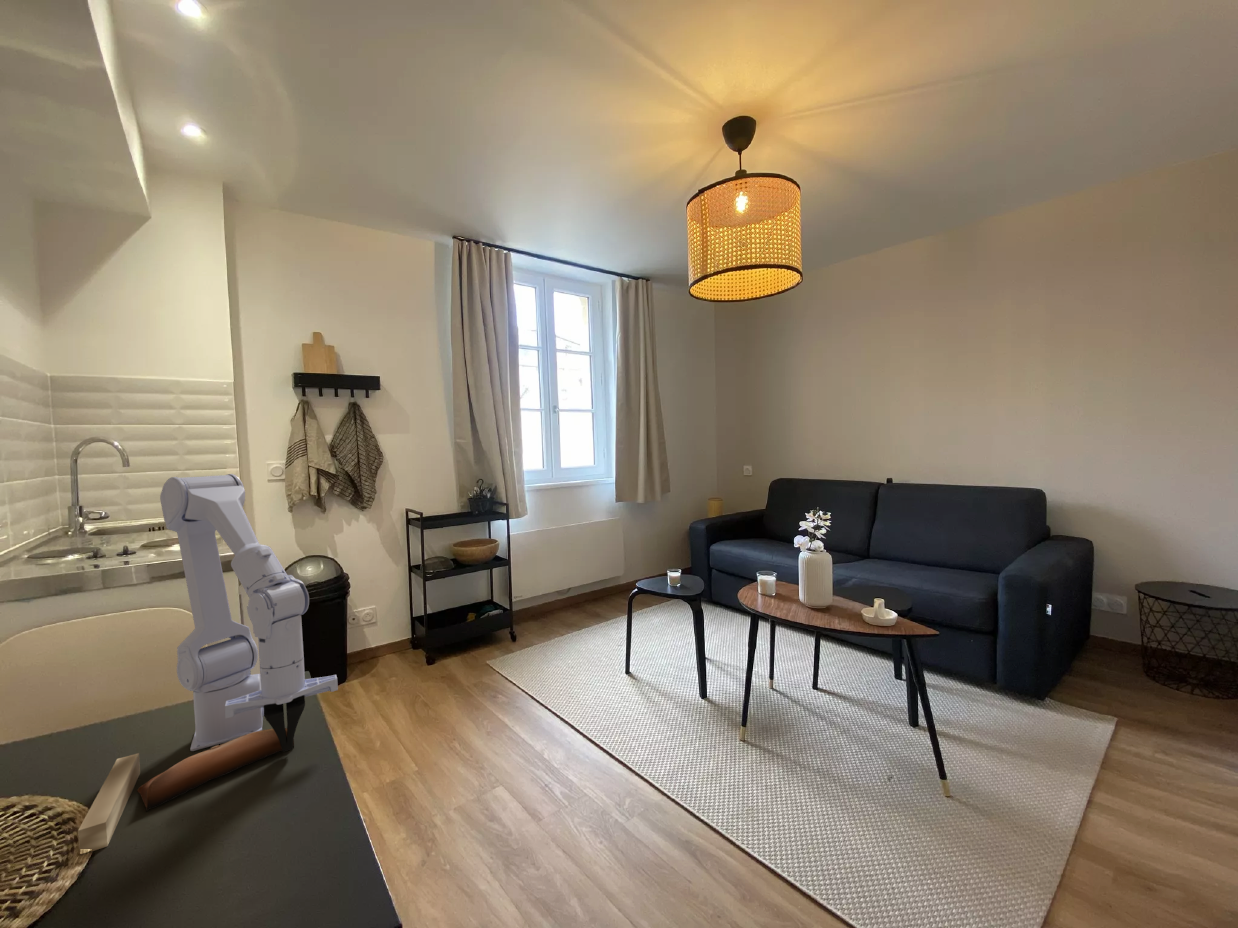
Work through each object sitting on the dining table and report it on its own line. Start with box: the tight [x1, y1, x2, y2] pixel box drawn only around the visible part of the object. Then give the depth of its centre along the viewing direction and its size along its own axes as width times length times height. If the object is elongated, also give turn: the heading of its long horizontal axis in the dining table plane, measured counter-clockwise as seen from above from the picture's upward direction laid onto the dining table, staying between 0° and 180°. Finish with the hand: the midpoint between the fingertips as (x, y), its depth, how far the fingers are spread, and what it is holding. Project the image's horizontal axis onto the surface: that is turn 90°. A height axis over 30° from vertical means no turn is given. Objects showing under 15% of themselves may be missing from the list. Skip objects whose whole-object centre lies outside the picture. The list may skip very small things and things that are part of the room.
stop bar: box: [77, 752, 141, 852], centre depth 70 cm, size 2×18×3 cm, turn 33°
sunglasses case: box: [136, 727, 295, 812], centre depth 78 cm, size 18×7×7 cm, turn 143°
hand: (287, 747), depth 81 cm, fingers closed
